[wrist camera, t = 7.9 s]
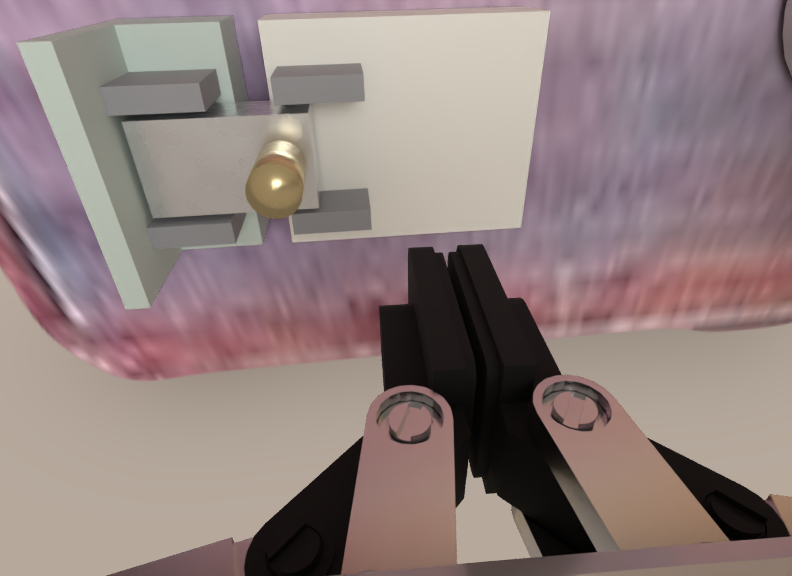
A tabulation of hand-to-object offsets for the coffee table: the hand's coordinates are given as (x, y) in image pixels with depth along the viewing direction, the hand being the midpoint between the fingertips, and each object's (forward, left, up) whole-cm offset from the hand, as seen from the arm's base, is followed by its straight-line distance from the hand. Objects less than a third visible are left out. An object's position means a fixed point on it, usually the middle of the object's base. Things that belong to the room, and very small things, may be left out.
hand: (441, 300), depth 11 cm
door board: (-1, 0, -16) cm, 16 cm away
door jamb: (+9, 0, -16) cm, 19 cm away
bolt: (+7, 0, -13) cm, 15 cm away
